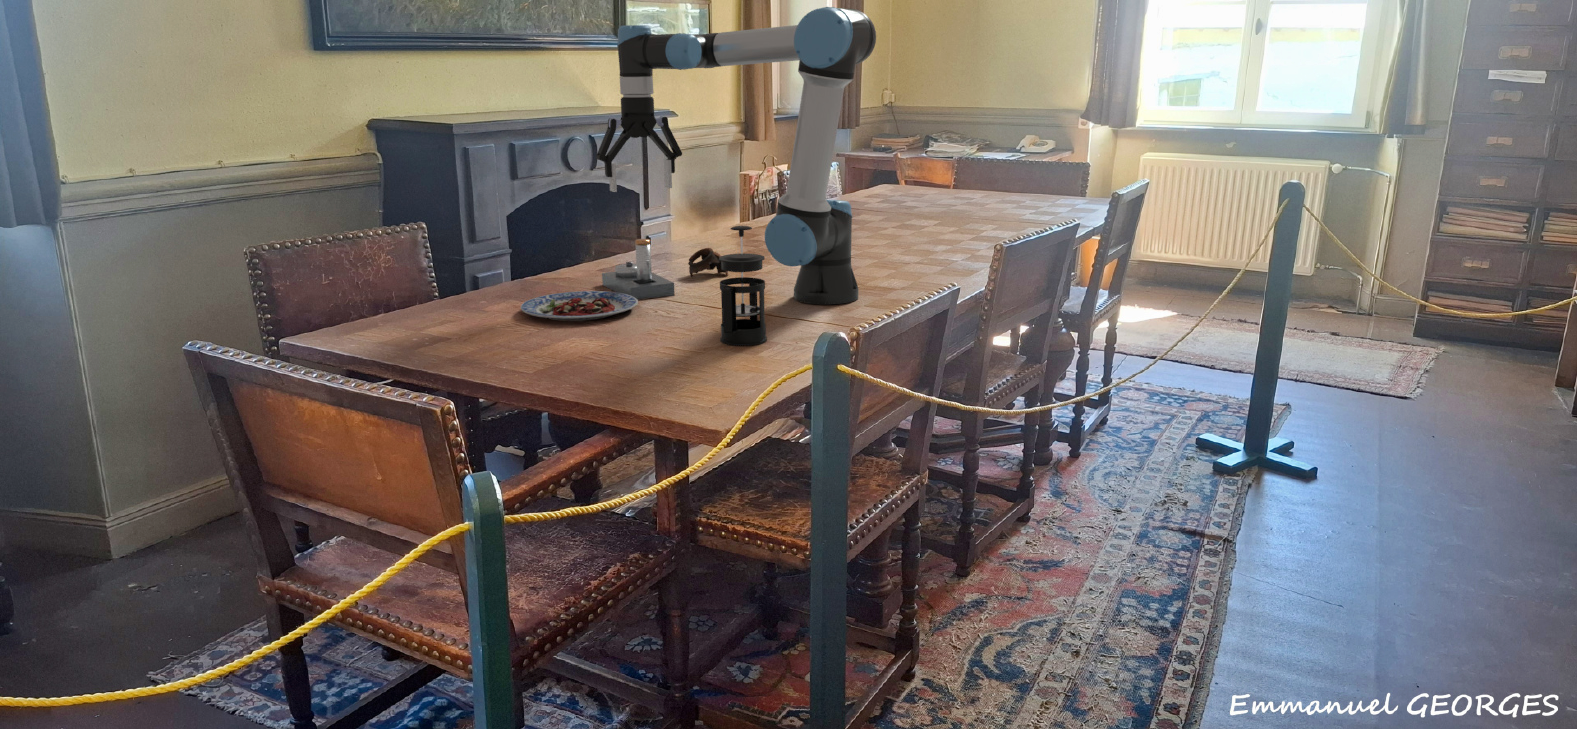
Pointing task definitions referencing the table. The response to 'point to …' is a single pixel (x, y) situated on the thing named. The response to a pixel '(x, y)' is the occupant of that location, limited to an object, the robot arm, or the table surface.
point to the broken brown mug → (705, 261)
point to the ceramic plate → (579, 305)
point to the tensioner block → (627, 283)
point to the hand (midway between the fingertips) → (641, 189)
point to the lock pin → (643, 261)
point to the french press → (742, 329)
